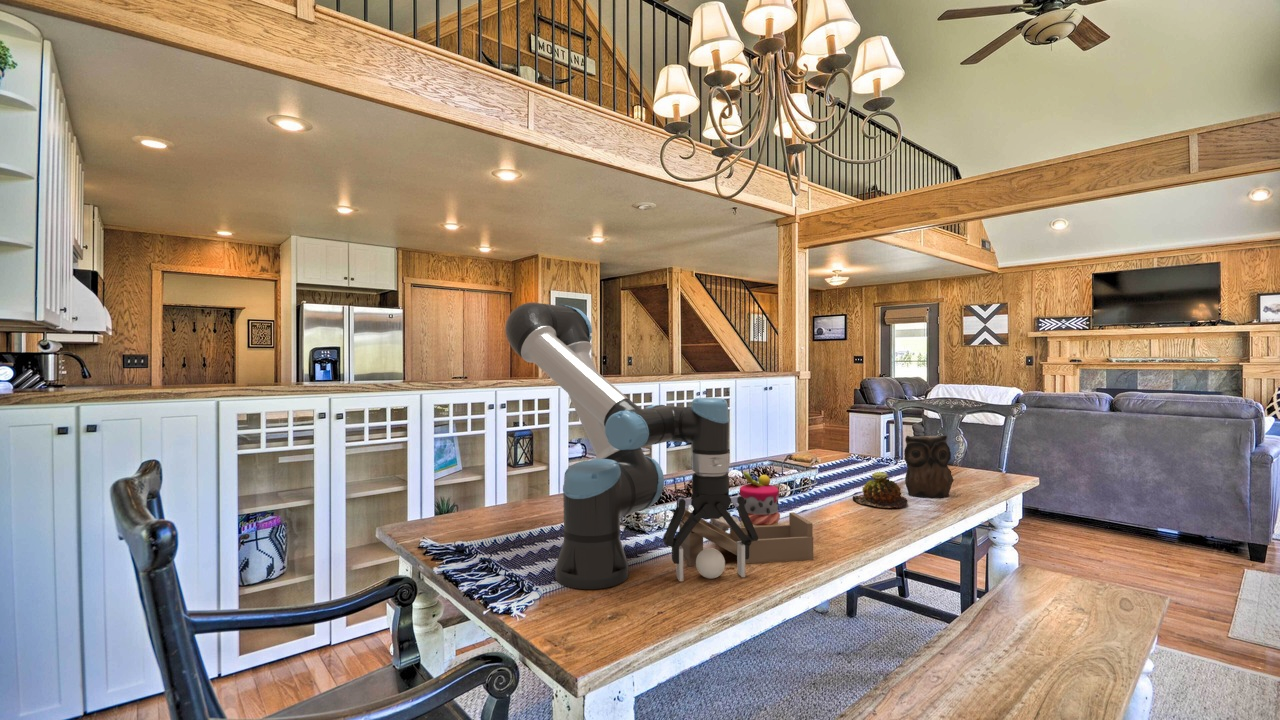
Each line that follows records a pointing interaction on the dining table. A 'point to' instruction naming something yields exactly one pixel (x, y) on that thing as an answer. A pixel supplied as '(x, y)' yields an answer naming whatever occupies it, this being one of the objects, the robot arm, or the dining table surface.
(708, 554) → the ball
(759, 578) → the dining table surface
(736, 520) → the rock
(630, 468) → the robot arm
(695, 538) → the ramp
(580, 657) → the dining table surface
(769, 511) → the cake
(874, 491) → the cactus
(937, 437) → the dark brown owl statuette
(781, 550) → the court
